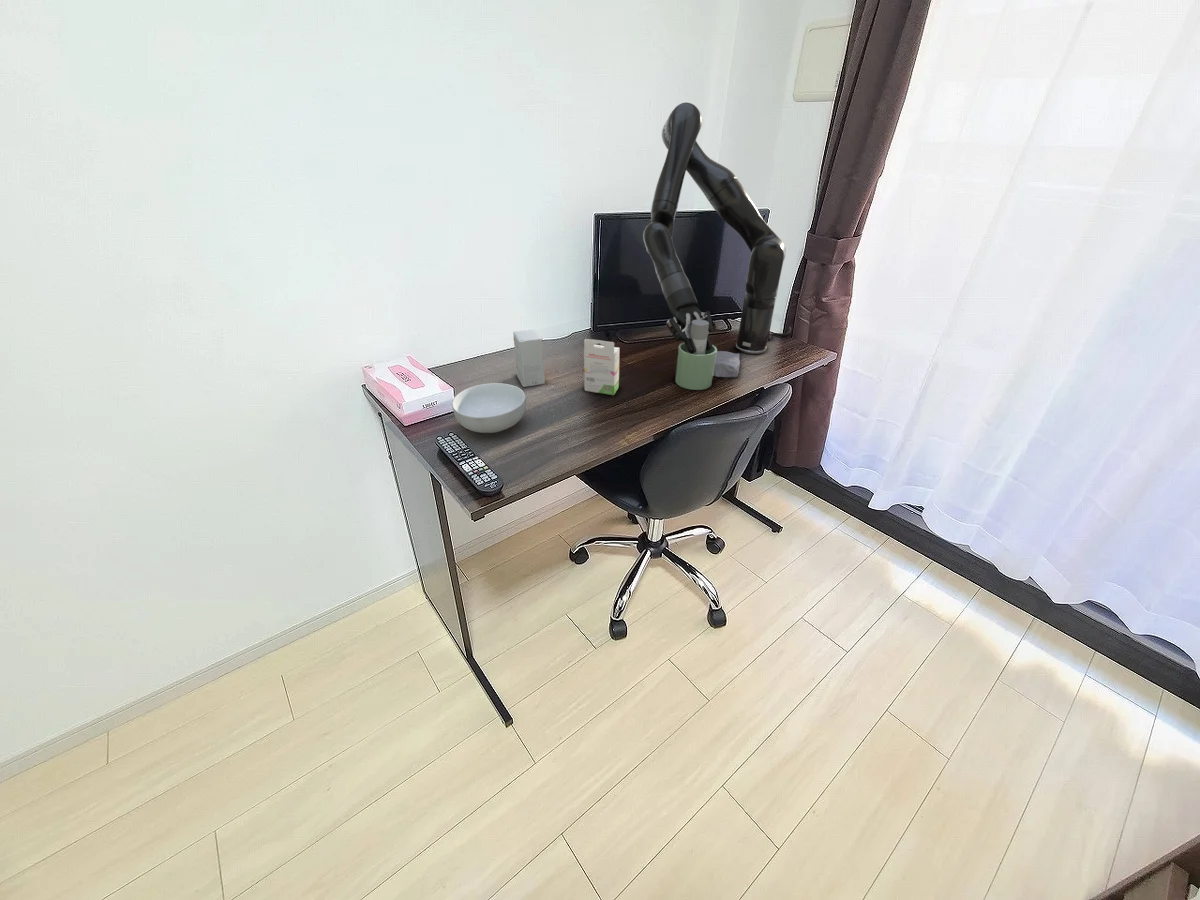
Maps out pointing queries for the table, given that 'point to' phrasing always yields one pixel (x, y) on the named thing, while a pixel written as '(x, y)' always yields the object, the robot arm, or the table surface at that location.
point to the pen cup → (695, 368)
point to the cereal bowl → (489, 407)
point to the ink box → (601, 367)
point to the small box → (529, 357)
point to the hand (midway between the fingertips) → (701, 350)
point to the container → (699, 335)
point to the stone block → (726, 364)
